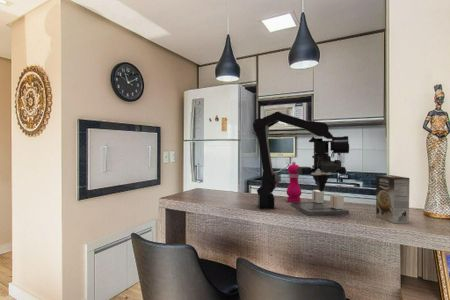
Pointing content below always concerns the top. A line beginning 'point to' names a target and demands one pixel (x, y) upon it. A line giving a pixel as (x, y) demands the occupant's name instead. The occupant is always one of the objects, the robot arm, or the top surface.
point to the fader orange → (337, 201)
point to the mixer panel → (317, 208)
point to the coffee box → (392, 198)
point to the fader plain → (317, 196)
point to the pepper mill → (293, 184)
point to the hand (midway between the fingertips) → (321, 191)
